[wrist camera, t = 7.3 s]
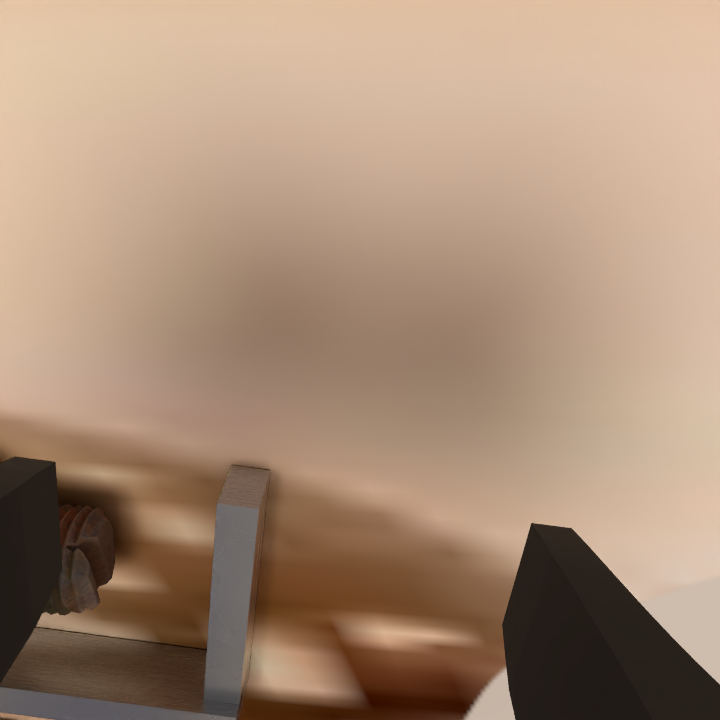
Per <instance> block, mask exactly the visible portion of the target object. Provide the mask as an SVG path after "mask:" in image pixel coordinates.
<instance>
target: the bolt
mask: <svg viewBox="0 0 720 720" xmlns="http://www.w3.org/2000/svg"><path fill="white" fill-rule="evenodd" d="M58 507H59V522H60V537H61V552H62V566H63V570H62V572H61V574H60V576H59V578H58V581H57V583H56V585H55V587H54V589H53V591H52V594H51V596H50V598H49V600H48V602H47V604H46V606H45V608H44V610H43V612H42V613H44V612H47V613H49V614H51V615H52V614H54V613H57V612H58V613H59V615H66V614H69V613H70V612H71V611H72V612H77V613H81V612H82V611H83V610H84V609H85V608H87V609H93V608H95V607H96V606H97V605H98V604H99V603H100V599H99V595H98V592H97V589H98V587H99V586H102V585H104V584H107V583H108V582H109V580H110V579H111V578H112V574H113V569H114V564H115V554H114V532H113V527H112V524H111V523H110V521H109V520H108V519H106V518H105V515H104V512H103V511H102V510H101V509H100V508H98V507H97V508H95V509H94V510H93V509H92V508H91V507H90V506H85V507H84V508H83V507H82V506H80V505H76V506H75V507H73V508H72V506H71V505H63V506H61V505H59V504H58Z"/></svg>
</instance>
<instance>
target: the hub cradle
mask: <svg viewBox="0 0 720 720" xmlns="http://www.w3.org/2000/svg"><path fill="white" fill-rule="evenodd" d="M269 474H270V470H263V469H256V468H249V467H242V466H235V465H232V466H231V468H230V471H229V474H228V476H227V479H226V481H225V484H224V487H223V489H222V492H221V494H220V497H219V499H218V502H217V511H216V525H215V540H214V554H213V569H212V584H211V598H210V613H209V627H208V642H207V650H201V649H193V648H186V647H178V646H171V645H163V644H156V643H148V642H141V641H133V640H125V639H118V638H110V637H103V636H95V635H88V634H80V633H73V632H65V631H58V630H50V629H43V628H35V629H34V631H33V632H32V634H31V636H30V637H29V639H28V641H27V642H26V644H25V645H24V647H23V649H22V650H21V652H20V653H19V655H18V656H17V658H16V660H15V661H14V663H13V664H12V666H11V667H10V669H9V671H8V672H7V674H6V675H5V677H4V679H3V680H2V682H1V683H0V712H1V713H9V714H16V715H24V716H32V717H39V718H47V719H55V720H239V717H240V713H241V709H242V704H243V700H244V695H245V691H246V686H247V682H248V674H249V665H250V655H251V646H252V636H253V627H254V617H255V608H256V598H257V589H258V579H259V570H260V560H261V551H262V541H263V532H264V522H265V512H266V503H267V493H268V484H269Z"/></svg>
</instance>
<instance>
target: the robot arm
mask: <svg viewBox="0 0 720 720" xmlns="http://www.w3.org/2000/svg"><path fill="white" fill-rule="evenodd" d="M62 570H63V566H62V552H61V537H60V522H59V507H58V493H57V478H56V463H55V462H52V461H44V460H37V459H29V458H21V457H13V458H11V459H9V460H6V461H4V462H2V463H0V683H1V682H2V680H3V679H4V677H5V675H6V674H7V672H8V671H9V669H10V667H11V666H12V664H13V663H14V661H15V660H16V658H17V656H18V655H19V653H20V652H21V650H22V649H23V647H24V645H25V644H26V642H27V641H28V639H29V637H30V636H31V634H32V632H33V631H34V629H35V627H36V625H37V623H38V621H39V619H40V616H41V614H42V612H43V610H44V608H45V606H46V604H47V602H48V600H49V598H50V596H51V594H52V591H53V589H54V587H55V585H56V583H57V581H58V578H59V576H60V574H61V572H62ZM502 626H503V637H504V647H505V658H506V667H507V675H508V684H509V691H510V696H511V701H512V706H513V710H514V715H515V719H516V720H720V685H719V683H718V682H716V681H715V680H714V679H713V678H712V677H711V676H710V675H709V674H708V673H707V672H706V671H705V670H704V669H703V668H702V667H701V666H700V665H699V664H698V663H697V662H695V660H694V659H693V658H692V657H691V656H690V655H689V654H688V653H687V652H686V651H685V650H684V649H683V648H682V647H681V646H680V645H679V644H678V643H677V642H676V641H675V640H674V639H673V638H672V637H671V636H670V635H669V634H668V633H667V631H666V630H665V629H663V627H662V626H661V625H660V624H659V623H658V622H657V621H656V620H655V619H654V618H653V617H652V616H651V615H650V614H649V612H648V611H647V610H646V609H645V608H644V607H643V606H642V605H641V604H640V603H639V602H638V600H637V599H636V598H635V597H634V596H633V595H632V594H631V593H630V592H629V591H628V589H627V588H626V587H625V586H624V585H623V584H622V583H621V582H620V581H619V580H618V578H617V577H616V576H615V575H614V574H613V573H612V572H611V571H610V570H609V568H608V567H607V566H606V565H605V564H604V563H603V562H602V561H601V560H600V558H599V557H598V556H597V555H596V554H595V553H594V552H593V551H592V550H591V548H590V547H589V546H588V545H587V544H586V543H585V542H584V541H583V540H582V539H581V538H580V537H579V536H578V534H577V533H576V532H575V531H574V530H573V529H572V528H565V527H558V526H550V525H542V524H534V523H531V527H530V530H529V534H528V537H527V541H526V544H525V548H524V551H523V555H522V558H521V561H520V565H519V568H518V572H517V575H516V579H515V582H514V586H513V589H512V593H511V596H510V600H509V603H508V607H507V610H506V614H505V617H504V621H503V624H502Z"/></svg>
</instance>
